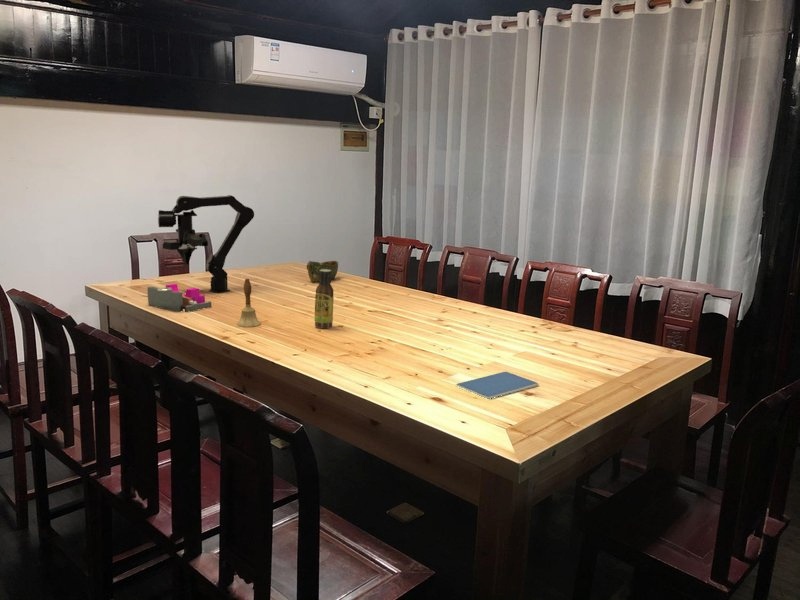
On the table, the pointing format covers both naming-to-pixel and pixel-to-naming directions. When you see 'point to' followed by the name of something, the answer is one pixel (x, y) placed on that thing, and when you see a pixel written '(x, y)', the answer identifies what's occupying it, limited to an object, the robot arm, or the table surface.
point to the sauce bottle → (324, 300)
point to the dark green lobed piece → (316, 267)
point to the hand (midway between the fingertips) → (186, 264)
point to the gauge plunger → (188, 301)
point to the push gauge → (171, 300)
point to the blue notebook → (497, 385)
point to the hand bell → (248, 309)
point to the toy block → (189, 293)
